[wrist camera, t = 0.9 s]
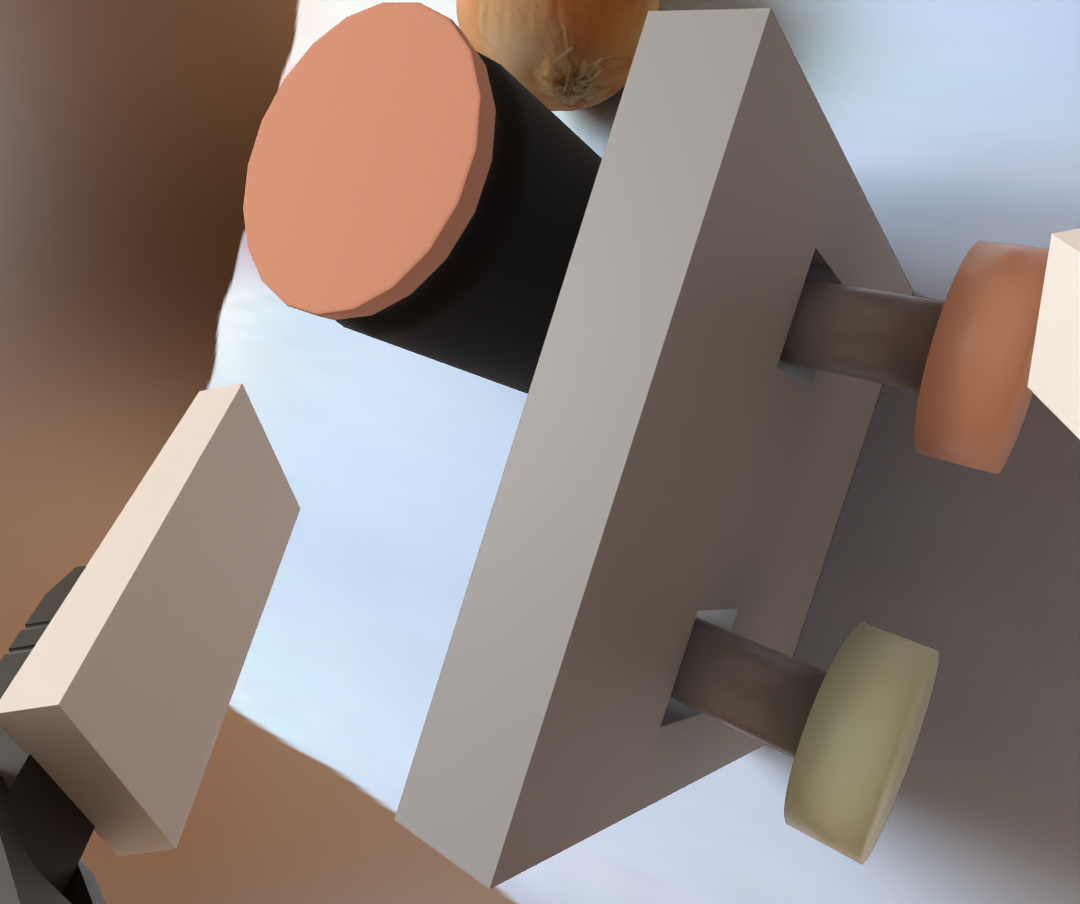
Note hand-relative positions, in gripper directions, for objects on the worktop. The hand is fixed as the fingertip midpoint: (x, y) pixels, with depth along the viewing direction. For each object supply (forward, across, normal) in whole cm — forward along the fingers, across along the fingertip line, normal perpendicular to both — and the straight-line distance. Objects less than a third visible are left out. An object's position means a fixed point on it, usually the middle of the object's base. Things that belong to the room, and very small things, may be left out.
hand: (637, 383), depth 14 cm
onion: (+36, +2, -2) cm, 37 cm away
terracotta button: (+12, +8, -8) cm, 16 cm away
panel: (+16, +7, -17) cm, 24 cm away
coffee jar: (+27, 0, -11) cm, 29 cm away
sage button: (+6, +3, -16) cm, 17 cm away
